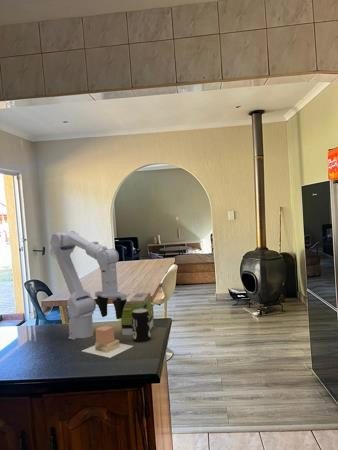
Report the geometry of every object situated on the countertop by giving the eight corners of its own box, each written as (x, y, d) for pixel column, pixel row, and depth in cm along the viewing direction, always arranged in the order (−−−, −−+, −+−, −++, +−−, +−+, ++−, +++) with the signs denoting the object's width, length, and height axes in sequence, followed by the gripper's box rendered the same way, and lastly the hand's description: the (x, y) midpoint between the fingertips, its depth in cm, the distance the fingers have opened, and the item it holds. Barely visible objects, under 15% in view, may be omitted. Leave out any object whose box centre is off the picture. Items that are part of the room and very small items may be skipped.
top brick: (96, 343, 129) (95, 329, 129) (105, 339, 133) (104, 325, 132) (105, 345, 126) (104, 330, 126) (114, 341, 130) (113, 327, 130)
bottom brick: (95, 349, 129) (95, 342, 129) (107, 344, 134) (107, 337, 134) (107, 352, 126) (107, 345, 126) (119, 347, 131) (119, 340, 131)
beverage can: (148, 345, 134) (146, 312, 134) (131, 345, 135) (128, 312, 135) (152, 339, 140) (150, 308, 140) (136, 339, 142) (134, 308, 142)
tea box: (131, 326, 159) (128, 292, 159) (153, 326, 158) (151, 291, 157) (121, 338, 144) (119, 300, 144) (146, 337, 143) (144, 299, 143)
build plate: (81, 353, 129) (81, 350, 129) (105, 343, 139) (105, 340, 139) (110, 360, 121) (110, 357, 121) (133, 348, 131) (133, 346, 131)
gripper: (88, 282, 139) (90, 318, 139) (116, 284, 130) (118, 322, 131) (101, 279, 144) (103, 313, 145) (129, 280, 136) (131, 317, 136)
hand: (111, 317), depth 138 cm, fingers open, 7 cm apart
